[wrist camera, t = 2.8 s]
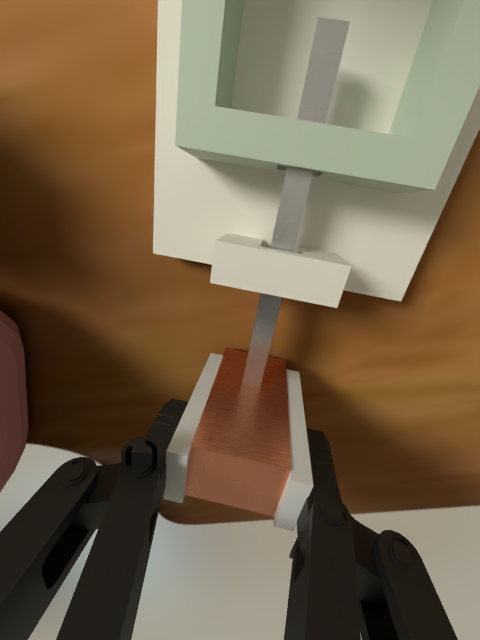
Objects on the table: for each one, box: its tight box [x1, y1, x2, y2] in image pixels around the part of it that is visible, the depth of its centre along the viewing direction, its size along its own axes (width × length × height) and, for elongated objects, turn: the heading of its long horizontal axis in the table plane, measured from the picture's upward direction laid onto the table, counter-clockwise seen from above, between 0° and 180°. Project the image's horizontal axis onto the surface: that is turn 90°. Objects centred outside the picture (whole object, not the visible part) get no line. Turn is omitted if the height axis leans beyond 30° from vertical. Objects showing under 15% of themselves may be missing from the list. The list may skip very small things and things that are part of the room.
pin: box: [185, 17, 350, 517], centre depth 10 cm, size 4×16×7 cm, turn 171°
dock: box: [153, 0, 480, 308], centre depth 9 cm, size 12×13×4 cm
